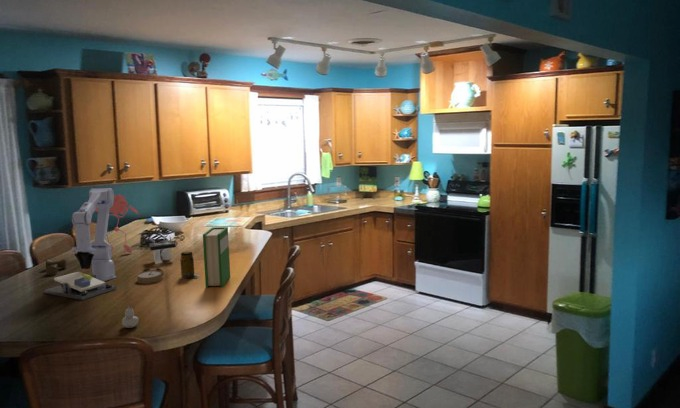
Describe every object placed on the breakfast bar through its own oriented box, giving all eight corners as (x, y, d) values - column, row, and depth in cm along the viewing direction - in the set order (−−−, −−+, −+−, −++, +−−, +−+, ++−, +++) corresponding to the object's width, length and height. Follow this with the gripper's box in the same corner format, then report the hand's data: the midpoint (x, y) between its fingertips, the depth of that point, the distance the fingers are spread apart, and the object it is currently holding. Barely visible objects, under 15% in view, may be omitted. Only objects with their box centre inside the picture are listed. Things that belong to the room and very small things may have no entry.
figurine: (138, 255, 305) (134, 194, 301) (93, 256, 306) (88, 195, 302) (148, 250, 320) (144, 192, 317) (105, 251, 321) (101, 193, 317)
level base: (44, 293, 235) (43, 280, 234) (79, 283, 250) (78, 271, 249) (82, 300, 223) (81, 287, 222) (116, 289, 238) (115, 277, 237)
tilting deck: (53, 280, 235) (54, 273, 234) (78, 273, 245) (78, 267, 244) (81, 291, 227) (81, 285, 226) (105, 284, 237) (105, 278, 237)
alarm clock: (133, 278, 245) (142, 265, 259) (134, 288, 247) (143, 274, 261) (158, 277, 246) (166, 264, 260) (159, 287, 247) (167, 273, 262)
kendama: (40, 277, 264) (49, 267, 282) (62, 276, 266) (69, 266, 285) (40, 265, 263) (48, 256, 282) (61, 264, 266) (68, 255, 284)
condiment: (183, 275, 260) (181, 250, 259) (200, 274, 260) (199, 250, 258) (178, 279, 253) (177, 254, 251) (196, 278, 253) (195, 253, 251)
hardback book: (222, 287, 238) (219, 234, 234) (205, 287, 237) (202, 234, 234) (230, 276, 255) (227, 227, 252) (214, 277, 255) (212, 227, 252)
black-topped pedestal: (137, 271, 271) (135, 245, 270) (134, 260, 295) (132, 236, 294) (193, 264, 283) (192, 239, 281) (186, 254, 306) (185, 231, 305)
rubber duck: (120, 330, 187) (118, 308, 186) (124, 324, 193) (123, 302, 192) (136, 329, 188) (135, 307, 187) (140, 322, 194) (138, 301, 193)
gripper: (64, 239, 236) (67, 269, 238) (86, 241, 229) (88, 272, 231) (78, 236, 242) (81, 265, 244) (100, 238, 236) (102, 268, 237)
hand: (85, 268), depth 238 cm, fingers closed
